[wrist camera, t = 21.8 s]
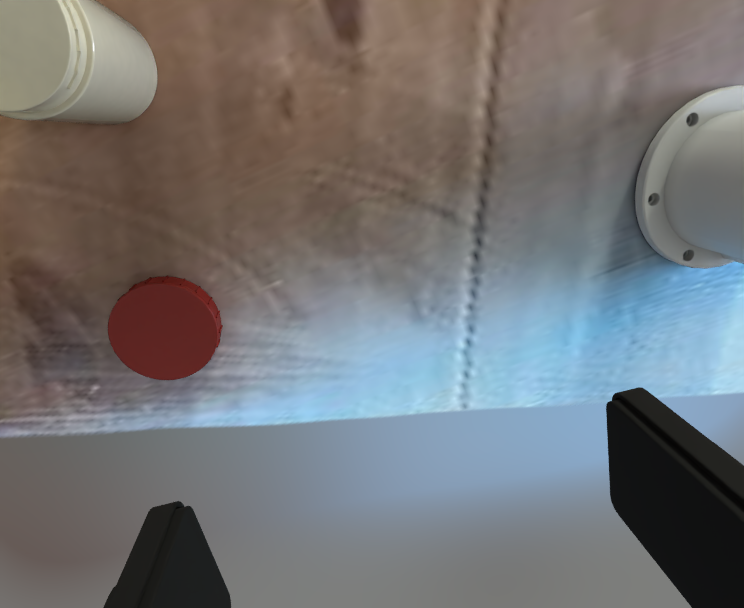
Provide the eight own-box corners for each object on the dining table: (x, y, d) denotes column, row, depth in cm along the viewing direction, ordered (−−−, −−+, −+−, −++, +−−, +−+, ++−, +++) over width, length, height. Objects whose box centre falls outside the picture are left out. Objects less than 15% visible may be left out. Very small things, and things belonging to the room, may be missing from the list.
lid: (93, 321, 32) (83, 331, 31) (167, 254, 32) (160, 261, 30) (173, 387, 35) (167, 399, 33) (243, 325, 34) (240, 335, 32)
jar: (180, 75, 29) (113, 41, 18) (110, 146, 29) (8, 152, 19) (93, -17, 27) (-37, -114, 16) (20, 62, 27) (-148, 18, 17)
